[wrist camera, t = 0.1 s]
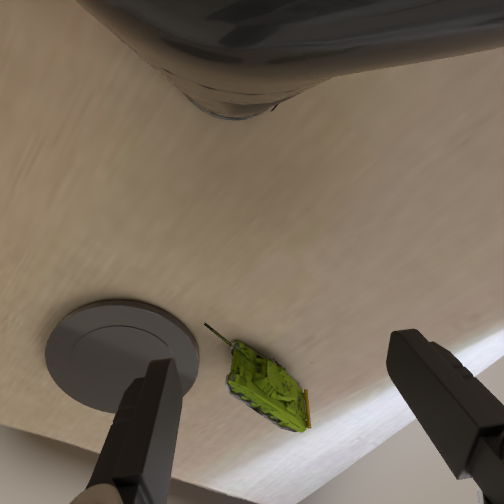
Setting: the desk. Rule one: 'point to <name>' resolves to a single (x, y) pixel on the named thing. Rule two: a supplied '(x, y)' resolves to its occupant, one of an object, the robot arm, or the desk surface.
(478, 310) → the desk surface
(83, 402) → the plate
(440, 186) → the desk surface
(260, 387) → the toy tank
